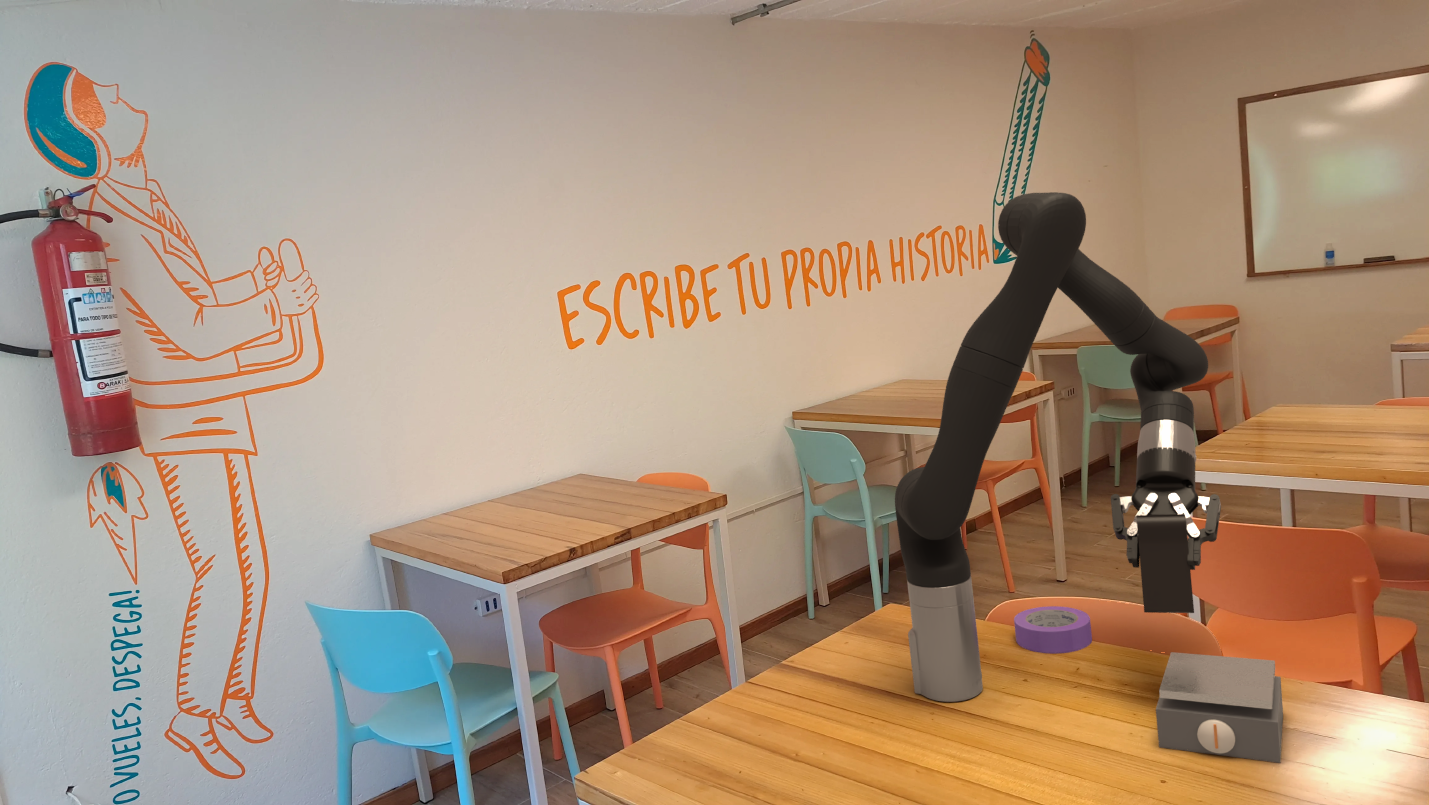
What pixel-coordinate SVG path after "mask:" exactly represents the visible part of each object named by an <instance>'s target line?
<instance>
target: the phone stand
mask: <svg viewBox="0 0 1429 805" xmlns="http://www.w3.org/2000/svg"><path fill="white" fill-rule="evenodd" d="M1135 516H1136V517H1137V529H1138V541H1139V554H1140V559H1139V567H1140V574H1141V575H1140V578H1141V587H1142V588H1141V590H1142V602H1143V612H1144V613H1147V614H1148V613H1149V614H1150V613H1151V614H1153V613H1154V614H1156V613H1157V614H1160V613H1161V614H1167V613H1168V614H1195V609H1194V608H1195V606H1194V597H1193V596H1194V595H1193V586H1192V585H1193V584H1192V574H1191V573H1192V572H1191V570H1190V566H1188V554H1189V549H1188V538H1189V537H1188V536H1187V524H1186V516H1185V514H1171V515H1135Z"/></svg>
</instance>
